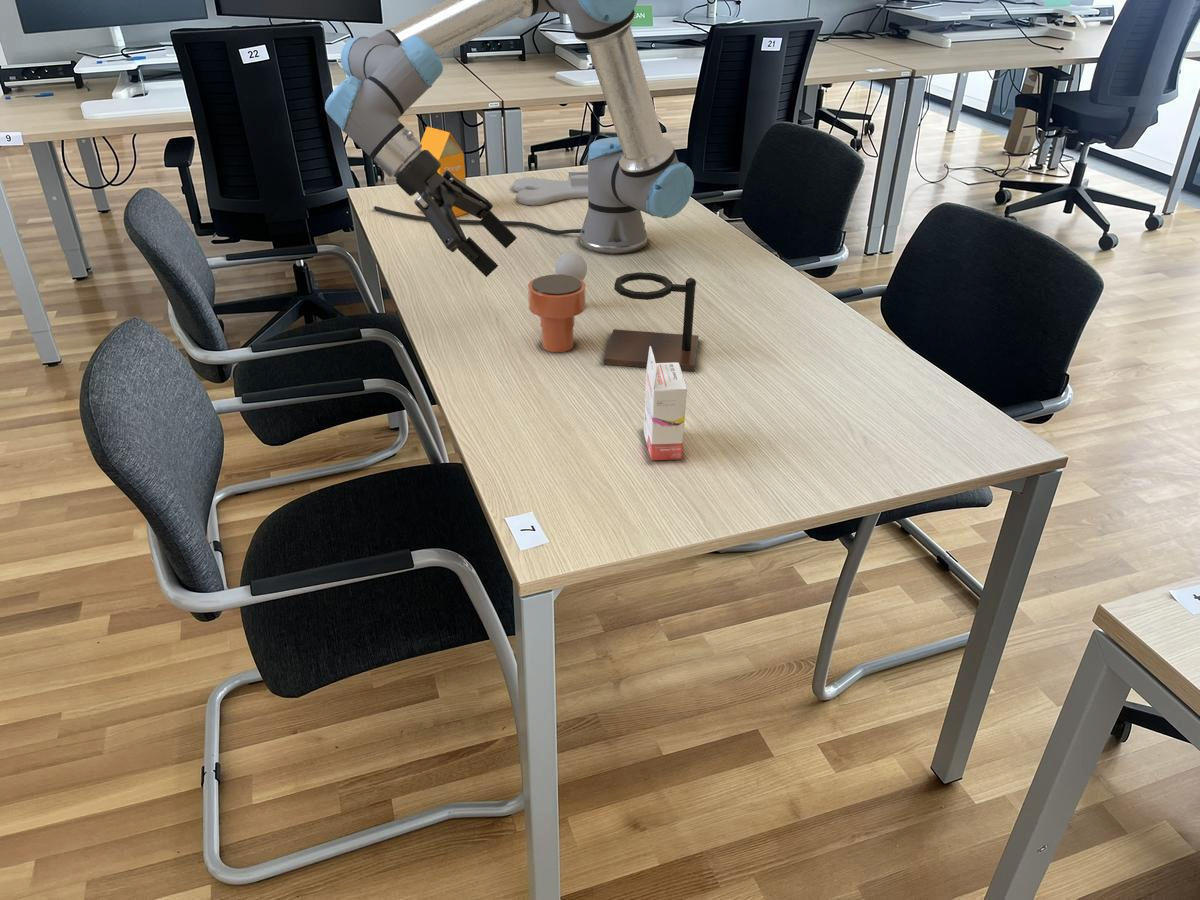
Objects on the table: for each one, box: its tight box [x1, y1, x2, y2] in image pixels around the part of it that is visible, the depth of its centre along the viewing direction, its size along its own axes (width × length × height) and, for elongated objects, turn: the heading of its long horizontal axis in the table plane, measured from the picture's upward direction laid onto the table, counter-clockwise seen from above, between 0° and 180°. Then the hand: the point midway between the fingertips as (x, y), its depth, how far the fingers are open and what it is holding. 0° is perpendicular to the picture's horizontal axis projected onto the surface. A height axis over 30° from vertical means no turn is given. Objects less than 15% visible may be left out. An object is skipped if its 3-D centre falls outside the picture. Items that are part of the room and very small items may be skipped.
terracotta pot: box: [527, 273, 587, 353], centre depth 162 cm, size 10×10×12 cm
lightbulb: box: [554, 251, 588, 281], centre depth 176 cm, size 6×6×11 cm
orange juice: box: [419, 125, 468, 217], centre depth 221 cm, size 8×9×20 cm
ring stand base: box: [603, 329, 700, 372], centre depth 162 cm, size 16×12×1 cm
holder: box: [512, 170, 588, 206], centre depth 240 cm, size 19×34×5 cm, turn 100°
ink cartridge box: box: [643, 346, 688, 461], centre depth 133 cm, size 9×5×15 cm, turn 5°
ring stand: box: [613, 271, 697, 351], centre depth 159 cm, size 14×10×13 cm
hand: (502, 257), depth 157 cm, fingers open, 13 cm apart
